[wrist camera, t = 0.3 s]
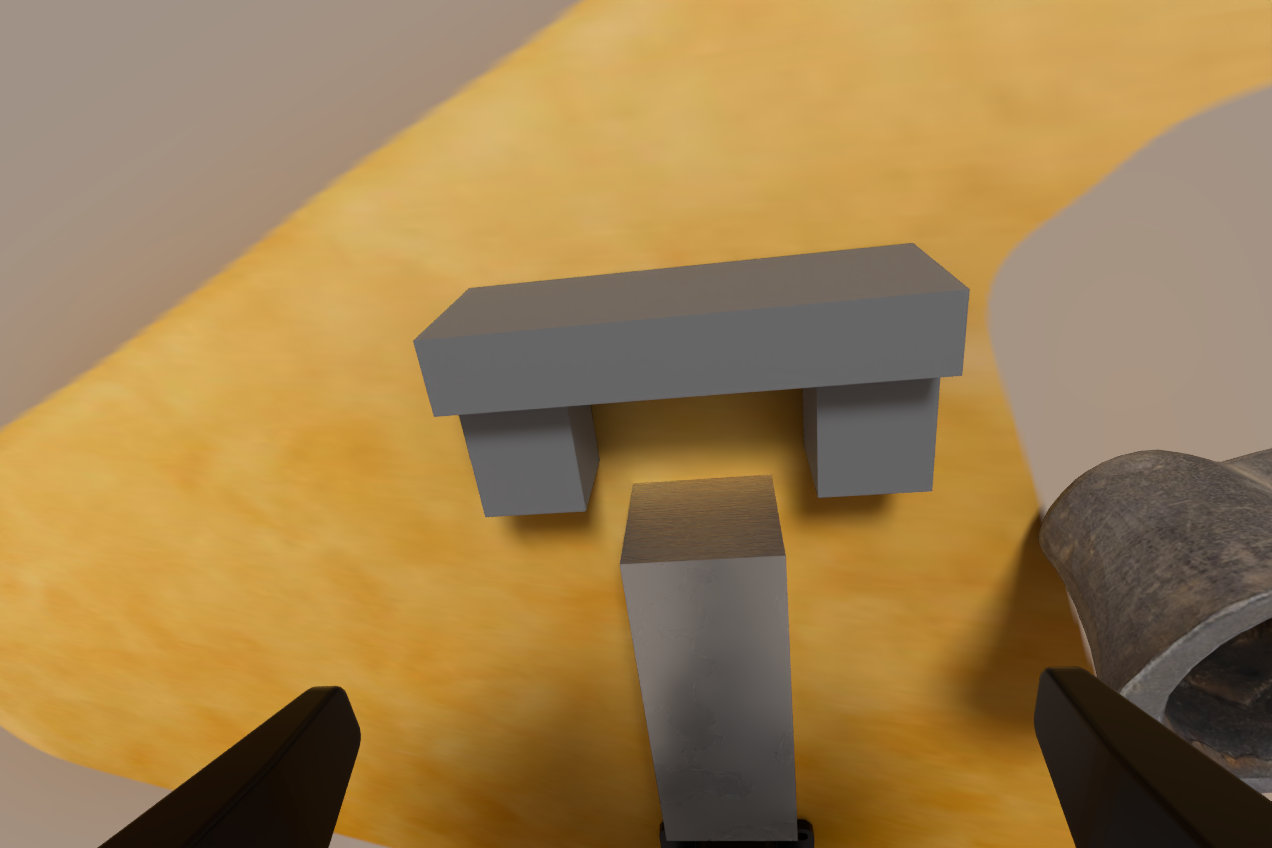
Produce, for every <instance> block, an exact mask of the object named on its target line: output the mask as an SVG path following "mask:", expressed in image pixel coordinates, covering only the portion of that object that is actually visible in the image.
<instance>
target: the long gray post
mask: <svg viewBox="0 0 1272 848" xmlns="http://www.w3.org/2000/svg"><path fill="white" fill-rule="evenodd" d="M620 569H621V574H622V580H623V586H624V592H625V598H626V604H627V610H628V616H629V622H630V627H631V633H632V639H633V645H634V651H635V657H636V663H637V669H638V675H639V681H640V686H641V692H642V698H643V704H644V710H645V716H646V722H647V728H648V734H649V740H650V745H651V751H652V757H653V763H654V769H655V775H656V781H657V787H658V793H659V798H660V804H661V810H662V816H663V822H664V828H665V834H666V840H667V841H798V833H797V809H796V786H795V762H794V739H793V715H792V691H791V668H790V644H789V620H788V597H787V573H786V554H785V548H784V543H783V537H782V531H781V526H780V520H779V514H778V509H777V503H776V497H775V491H774V486H773V480H772V475H756V476H741V477H726V478H711V479H696V480H681V481H666V482H651V483H636V484H633V487H632V493H631V499H630V505H629V511H628V518H627V524H626V530H625V536H624V542H623V548H622V554H621V560H620Z"/></svg>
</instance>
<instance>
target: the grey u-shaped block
mask: <svg viewBox="0 0 1272 848" xmlns="http://www.w3.org/2000/svg"><path fill="white" fill-rule="evenodd" d="M968 301H969V288H968V287H966V286H965V285H964V284H963V283H961V282H960V281H959V280H958V279H957V278H955V277H954V276H953V275H952V274H950V273H949V272H948V271H947V270H946V269H944V268H943V267H942V266H941V265H939V264H938V263H937V262H936V261H935V260H933V259H932V258H931V257H930V256H928V255H927V254H926V253H925V252H923V251H922V250H921V249H920V248H919V247H917V246H916V245H915V244H914V243H909V244H899V245H889V246H880V247H870V248H860V249H850V250H840V251H831V252H821V253H811V254H801V255H791V256H782V257H772V258H762V259H752V260H742V261H732V262H723V263H713V264H703V265H693V266H683V267H674V268H664V269H654V270H644V271H634V272H625V273H615V274H605V275H595V276H585V277H576V278H566V279H556V280H546V281H536V282H527V283H517V284H507V285H497V286H487V287H478V288H469V289H468V290H467V291H466V292H465V293H464V294H463V295H462V296H461V297H459V298H458V299H457V300H456V301H455V302H454V303H453V304H452V305H451V306H450V307H449V308H448V309H447V310H446V311H444V312H443V313H442V314H441V315H440V316H439V317H438V318H437V319H436V320H435V321H434V322H433V323H432V324H431V325H429V326H428V327H427V328H426V329H425V330H424V331H423V332H422V333H421V334H420V335H419V336H418V337H417V338H416V339H414V340H413V342H414V346H415V349H416V353H417V357H418V360H419V364H420V368H421V371H422V375H423V378H424V382H425V386H426V389H427V393H428V397H429V400H430V404H431V407H432V411H433V415H434V417H438V416H450V415H459V417H460V421H461V425H462V429H463V432H464V436H465V440H466V444H467V448H468V452H469V456H470V460H471V463H472V467H473V471H474V475H475V479H476V483H477V487H478V490H479V494H480V498H481V502H482V506H483V510H484V514H485V517H496V516H513V515H531V514H548V513H565V512H582V511H586V510H587V506H588V502H589V498H590V494H591V491H592V487H593V483H594V479H595V476H596V472H597V468H598V464H599V460H600V459H599V453H598V447H597V441H596V435H595V429H594V423H593V417H592V411H591V405H592V404H604V403H617V402H630V401H643V400H656V399H669V398H681V397H694V396H707V395H720V394H733V393H746V392H758V391H771V390H784V389H797V388H803V423H804V448H805V452H806V455H807V459H808V463H809V466H810V470H811V474H812V477H813V481H814V485H815V488H816V492H817V496H818V498H824V497H841V496H858V495H875V494H893V493H910V492H927V491H932V485H933V471H934V457H935V443H936V429H937V415H938V401H939V386H940V377H951V376H962V371H963V359H964V348H965V336H966V324H967V313H968Z"/></svg>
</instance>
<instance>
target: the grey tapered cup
mask: <svg viewBox="0 0 1272 848" xmlns="http://www.w3.org/2000/svg"><path fill="white" fill-rule="evenodd" d="M1038 539H1039V544H1040V547H1041V549H1042V551H1043V553H1044V555H1045V557H1046V558H1047V559H1048V560H1049V562H1050V563H1051V564H1052V565H1053V566H1054V568H1055V569H1056V571H1057V572H1058V574H1059V575H1060V577H1061V579H1062V580H1063V582H1064V584H1065V586H1066V588H1067V590H1068V592H1069V594H1070V596H1071V598H1072V600H1073V602H1074V604H1075V606H1076V608H1077V612H1078V615H1079V618H1080V620H1081V623H1082V625H1083V628H1084V630H1085V633H1086V636H1087V639H1088V642H1089V645H1090V648H1091V652H1092V657H1093V661H1094V665H1095V670H1096V674H1097V678H1098V679H1100V680H1101V681H1102V682H1104V683H1105V684H1107V685H1108V686H1109V687H1111V688H1112V689H1114V690H1115V691H1116V692H1118V693H1119V694H1121V695H1122V696H1124V697H1125V698H1126V699H1128V700H1129V701H1131V702H1132V703H1133V704H1135V705H1136V706H1138V707H1139V708H1140V709H1142V710H1143V711H1145V712H1146V713H1148V714H1149V715H1150V716H1152V717H1153V718H1155V719H1156V720H1157V721H1159V722H1160V723H1162V724H1163V725H1164V726H1166V727H1167V728H1169V729H1170V730H1172V731H1173V732H1174V733H1176V734H1177V735H1179V736H1180V737H1181V738H1183V739H1184V740H1186V741H1187V742H1188V743H1190V744H1191V745H1193V746H1194V747H1196V748H1197V749H1198V750H1200V751H1201V752H1203V753H1204V754H1205V755H1207V756H1208V757H1210V758H1211V759H1212V760H1214V761H1215V762H1217V763H1218V764H1220V765H1221V766H1222V767H1224V768H1225V769H1227V770H1228V771H1229V772H1231V773H1232V774H1234V775H1235V776H1236V777H1238V778H1239V779H1241V780H1242V781H1243V782H1245V783H1246V784H1248V785H1249V786H1251V787H1252V788H1253V789H1255V790H1256V791H1258V792H1259V793H1271V792H1272V449H1268V450H1264V451H1260V452H1256V453H1252V454H1248V455H1244V456H1241V457H1237V458H1233V459H1230V460H1226V461H1223V462H1215V461H1212V460H1209V459H1205V458H1201V457H1197V456H1193V455H1189V454H1183V453H1177V452H1171V451H1164V450H1148V451H1138V452H1134V453H1130V454H1125V455H1121V456H1118V457H1115V458H1113V459H1110V460H1108V461H1106V462H1103V463H1101V464H1099V465H1098V466H1096V467H1094V468H1092V469H1090V470H1088V471H1087V472H1085V473H1084V474H1082V475H1081V476H1080V477H1078V478H1077V479H1076V480H1075V481H1074V482H1072V483H1071V484H1070V485H1069V486H1068V487H1067V488H1066V489H1065V490H1064V491H1063V492H1062V493H1061V494H1060V496H1059V497H1058V498H1057V500H1056V501H1055V502H1054V503H1053V504H1052V506H1051V507H1050V508H1049V510H1048V511H1047V513H1046V515H1045V517H1044V520H1043V522H1042V525H1041V528H1040V532H1039V536H1038Z"/></svg>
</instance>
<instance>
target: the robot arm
mask: <svg viewBox="0 0 1272 848" xmlns="http://www.w3.org/2000/svg"><path fill="white" fill-rule="evenodd" d="M1034 727H1035V732H1036V736H1037V739H1038V742H1039V745H1040V748H1041V750H1042V753H1043V756H1044V759H1045V762H1046V764H1047V767H1048V770H1049V773H1050V776H1051V779H1052V781H1053V784H1054V787H1055V790H1056V793H1057V795H1058V798H1059V801H1060V804H1061V807H1062V810H1063V812H1064V815H1065V818H1066V821H1067V824H1068V826H1069V829H1070V832H1071V835H1072V838H1073V840H1074V843H1075V846H1076V848H1272V801H1270V800H1269V799H1267V798H1266V797H1265V796H1263V795H1262V794H1260V793H1259V792H1258V791H1256V790H1255V789H1253V788H1252V787H1251V786H1249V785H1248V784H1246V783H1245V782H1243V781H1242V780H1241V779H1239V778H1238V777H1236V776H1235V775H1234V774H1232V773H1231V772H1229V771H1228V770H1227V769H1225V768H1224V767H1222V766H1221V765H1220V764H1218V763H1217V762H1215V761H1214V760H1212V759H1211V758H1210V757H1208V756H1207V755H1205V754H1204V753H1203V752H1201V751H1200V750H1198V749H1197V748H1196V747H1194V746H1193V745H1191V744H1190V743H1188V742H1187V741H1186V740H1184V739H1183V738H1181V737H1180V736H1179V735H1177V734H1176V733H1174V732H1173V731H1172V730H1170V729H1169V728H1167V727H1166V726H1164V725H1163V724H1162V723H1160V722H1159V721H1157V720H1156V719H1155V718H1153V717H1152V716H1150V715H1149V714H1148V713H1146V712H1145V711H1143V710H1142V709H1140V708H1139V707H1138V706H1136V705H1135V704H1133V703H1132V702H1131V701H1129V700H1128V699H1126V698H1125V697H1124V696H1122V695H1121V694H1119V693H1118V692H1116V691H1115V690H1114V689H1112V688H1111V687H1109V686H1108V685H1107V684H1105V683H1104V682H1102V681H1101V680H1100V679H1098V678H1097V677H1095V676H1094V675H1092V674H1091V673H1090V672H1088V671H1087V670H1085V669H1083V668H1080V667H1076V666H1071V667H1048V668H1045V669H1044V670H1043V671H1042V672H1041V675H1040V679H1039V686H1038V692H1037V699H1036V705H1035V712H1034ZM360 741H361V733H360V727H359V724H358V722H357V719H356V717H355V714H354V712H353V709H352V706H351V704H350V701H349V699H348V696H347V694H346V692H345V690H344V689H342V688H341V687H339V686H318V687H312V688H310V689H308V690H307V691H305V692H304V693H302V694H301V695H300V696H298V697H297V698H296V699H294V700H293V701H292V702H290V703H289V704H288V705H286V706H285V707H284V708H283V709H281V710H280V711H279V712H277V713H276V714H275V715H273V716H272V717H271V718H269V719H268V720H267V721H265V722H264V723H263V724H261V725H260V726H259V727H257V728H256V729H255V730H253V731H252V732H251V733H249V734H248V735H247V736H245V737H244V738H243V739H241V740H240V741H239V742H237V743H236V744H235V745H233V746H232V747H231V748H229V749H228V750H227V751H225V752H224V753H223V754H221V755H220V756H219V757H217V758H216V759H215V760H213V761H212V762H211V763H210V764H208V765H207V766H206V767H204V768H203V769H202V770H200V771H199V772H198V773H196V774H195V775H194V776H192V777H191V778H190V779H188V780H187V781H186V782H184V783H183V784H182V785H180V786H179V787H178V788H176V789H175V790H174V791H172V792H171V793H170V794H169V795H167V796H166V797H164V798H163V799H162V800H160V801H159V802H158V803H156V804H155V805H154V806H153V807H151V808H150V809H148V810H147V811H146V812H144V813H143V814H142V815H140V816H139V817H138V818H137V819H135V820H134V821H133V822H131V823H130V824H128V825H127V826H126V827H125V828H123V829H122V830H121V831H119V832H118V833H117V834H115V835H114V836H113V837H111V838H110V839H109V840H107V841H106V842H105V843H103V844H102V845H101V846H99V847H98V848H328V847H329V844H330V841H331V838H332V835H333V832H334V828H335V825H336V822H337V819H338V815H339V812H340V809H341V806H342V802H343V799H344V796H345V793H346V789H347V786H348V783H349V780H350V776H351V773H352V770H353V767H354V763H355V760H356V757H357V754H358V750H359V747H360ZM797 833H798V841H667V840H666V834H665V828H664V822H662V823H661V824H660V842H661V848H814V832H813V827H812V824H811V823H810V822H808V821H805V820H797Z"/></svg>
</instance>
